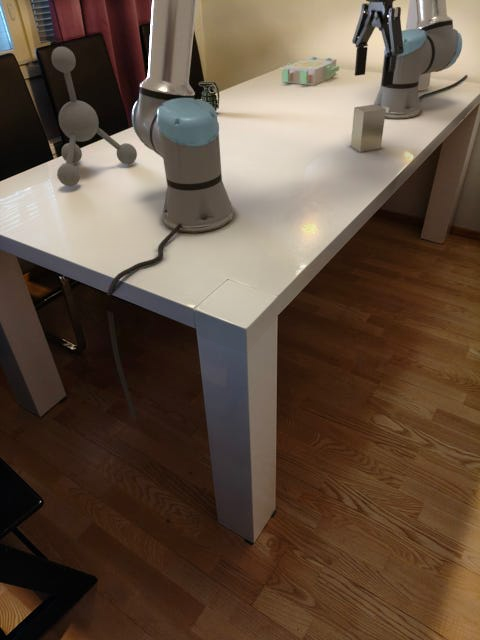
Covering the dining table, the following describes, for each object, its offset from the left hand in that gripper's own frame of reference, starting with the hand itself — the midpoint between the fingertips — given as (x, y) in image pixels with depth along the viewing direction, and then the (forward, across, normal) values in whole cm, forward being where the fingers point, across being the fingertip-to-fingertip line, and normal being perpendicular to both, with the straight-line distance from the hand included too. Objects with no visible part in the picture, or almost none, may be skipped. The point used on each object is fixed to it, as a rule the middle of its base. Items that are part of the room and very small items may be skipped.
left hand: (372, 80), depth 127 cm
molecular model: (+17, -16, -73) cm, 77 cm away
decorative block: (+18, -85, +21) cm, 89 cm away
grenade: (+18, -55, -30) cm, 65 cm away
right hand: (-14, +4, +46) cm, 48 cm away
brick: (+18, 0, 0) cm, 18 cm away
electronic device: (+18, -49, +47) cm, 70 cm away
